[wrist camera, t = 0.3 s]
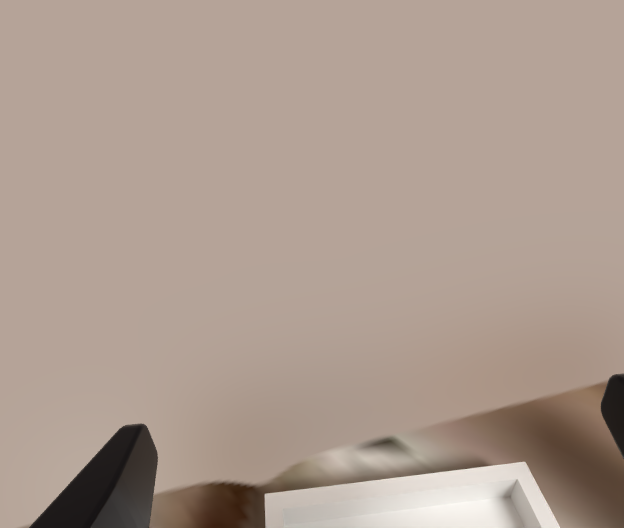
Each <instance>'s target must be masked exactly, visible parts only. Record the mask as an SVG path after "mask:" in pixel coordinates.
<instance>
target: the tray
mask: <svg viewBox="0 0 624 528" xmlns="http://www.w3.org/2000/svg"><path fill="white" fill-rule="evenodd" d="M265 525H266V528H560V526H559V525H558V523H557V521H556V519H555V517H554V515H553V513H552V511H551V509H550V508H549V506H548V504H547V502H546V500H545V498H544V496H543V494H542V492H541V491H540V489H539V487H538V485H537V483H536V481H535V479H534V477H533V475H532V474H531V472H530V470H529V468H528V466H527V464H526V462H518V463H510V464H502V465H494V466H486V467H478V468H470V469H462V470H454V471H446V472H438V473H429V474H421V475H413V476H405V477H397V478H389V479H381V480H373V481H365V482H357V483H349V484H340V485H332V486H324V487H316V488H308V489H300V490H292V491H284V492H276V493H268V494H265Z"/></svg>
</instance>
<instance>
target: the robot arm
mask: <svg viewBox="0 0 624 528" xmlns="http://www.w3.org/2000/svg"><path fill="white" fill-rule="evenodd" d="M601 412H602V416H603V418H604V420H605V422H606V424H607V426H608V428H609V430H610V432H611V434H612V436H613V438H614V440H615V442H616V444H617V446H618V448H619V450H620V452H621V454H622V456H623V458H624V374H616V375H613V376H612V377H611V378H610V379H609V381H608V384H607V387H606V390H605V393H604V396H603V399H602V402H601ZM157 462H158V456H157V450H156V447H155V445H154V442H153V440H152V438H151V435H150V433H149V430H148V428H147V426H146V425H144V424H132V425H125V426H123V427H122V428H120V429H119V430H118V431H117V432H116V433H115V435H114V436H113V437H112V438H111V439H110V440H109V441H108V442H107V443H106V444H105V445H104V446H103V448H102V449H101V450H100V451H99V452H98V453H97V454H96V455H95V457H93V458H92V460H91V461H90V462H89V463H88V464H87V465H86V466H85V467H84V468H83V469H82V470H81V472H80V473H79V474H78V475H77V476H76V477H75V478H74V479H73V480H72V481H71V482H70V484H69V485H68V486H67V487H66V488H65V489H64V490H63V491H62V492H61V493H60V494H59V496H58V497H57V498H56V499H55V500H54V501H53V502H52V503H51V504H50V506H49V507H48V508H47V509H46V510H45V511H44V512H43V513H42V514H41V515H40V517H38V519H37V520H36V521H35V522H34V523H33V524H32V525H31V526H30V527H29V528H149V523H150V516H151V508H152V501H153V493H154V486H155V478H156V470H157Z"/></svg>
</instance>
